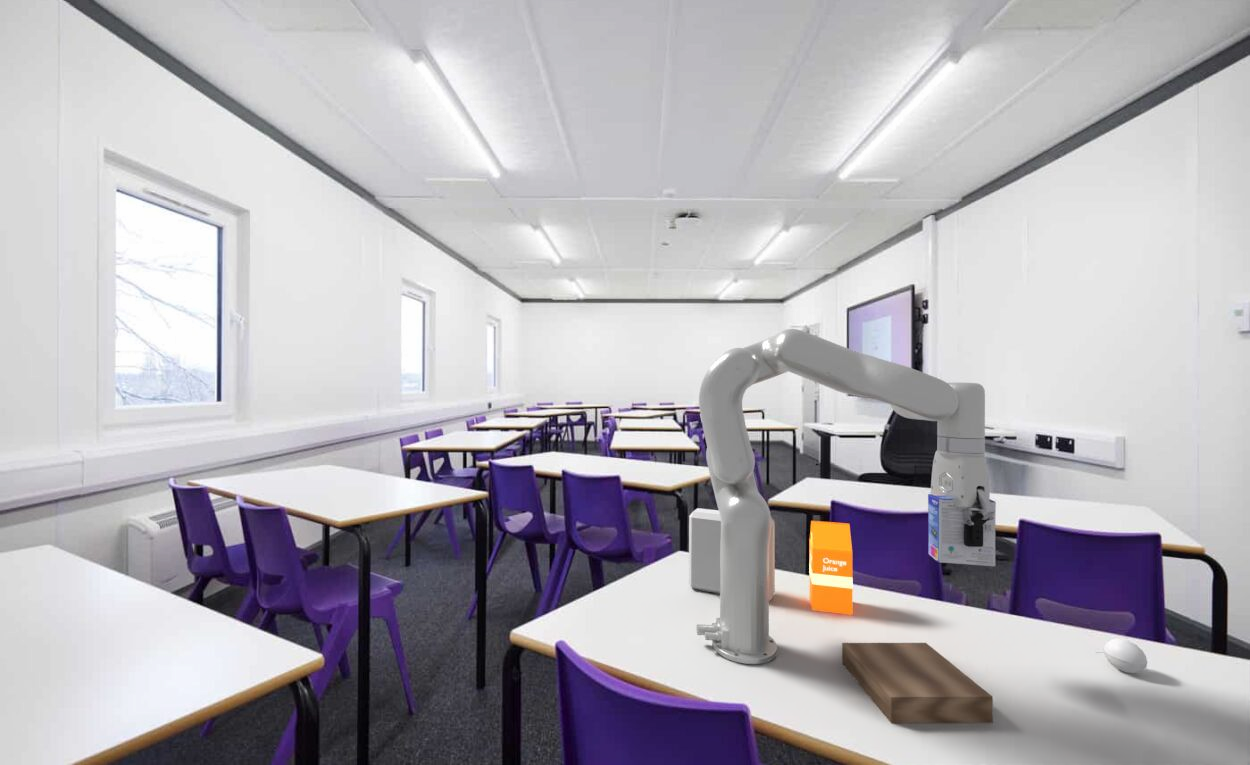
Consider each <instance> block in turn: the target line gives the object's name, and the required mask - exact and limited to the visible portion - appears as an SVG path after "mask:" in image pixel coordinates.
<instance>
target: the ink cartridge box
mask: <svg viewBox="0 0 1250 765" xmlns="http://www.w3.org/2000/svg"><path fill="white" fill-rule="evenodd" d="M989 500H990V502H991V504H992V505H993V507H994V508H995V513H994V514H993V515H992V516H991V517H990V518H989V520H988V521H986V525H985V526H983V546H982V547H968V546H965V545H964V524H967V521H966V517H965V513H964V510H963V509H959V508H956V507H955V506H954V501H953V499H951V498H948V497H945V496H942V495H938V494H931V493H928V494H927V507H928V508H927V510H928V512H927V513H928V514H927V515H928V517H927V518H928V555H929V556H930V557H931V558H933V560H935V561H936V562H937V563H941V564H942V563H943V564H955V565H957V564H958V565H970V566H971V565H972V566H984V567H996V509H997V508H996V507H997V506H996V504H997V503H996V500H992V499H989ZM976 505H977V504H976ZM976 505H973V506H972V507H976ZM971 512H972V516H974V515H975V514H976V512H974V511H971Z"/></svg>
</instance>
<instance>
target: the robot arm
mask: <svg viewBox="0 0 1250 765" xmlns="http://www.w3.org/2000/svg"><path fill="white" fill-rule="evenodd" d="M712 363H713V364H711V366H710V367H709V368H708V370H707V371H706V373H705V375H704V377H703V379H702V382H701V385H700V388H699V394H698V398H699V399H698V404H699V413H700V419H701V423H702V430H703V434H704V439H705V443H706V447H707V448H706V451H705V458H706V464H707V468H708V472H709V476H710V481H711V485H712V489H713V493H714V497H715V502H716V506H717V509H718V510H719V513H720V517H721V544H720V594H719V599H720V600H719V617H716V618H715V619H716V621H715V622H711V624H696V635H697V636H704V640H705V641H711V643H712V648H714V651H715V652H716V653H718V654H719V655H721V656H722V657H724V658H725V659H727V660H730V661H733V662H736V663H739V664H745V665H746V664H747V665H759V664H760V665H761V664H765V663H767V662H770V661H772V660H774V659H775V657H776V656H777V653H778V645H777V642H776V641H775V639H773V638H772V637H771V636H770V618H769V617H770V601H769V544H770V534H771V517H772V515H771V510H770V507H769V505H768V503H767V501H766V500H765V498H764V497H763V496H762V495H761V493H760V492H759V489H758V486H757V481H756V477H755V473H754V469H755V464H756V460H755V459H756V458H755V453H754V451H753V447H752V445H751V441H750V437H749V433H748V429H747V425H746V422H745V421H746V420H745V415H744V410H743V398H744V395H745V393H746V390H747V389H749V388H750V387H752V386H754V385H755V384H758V383H759V384H760V383H761V382H764V381H768V380H770V379H772V378H775V377H778V376H781V375H782V374H785V373H788V372H789V373H792V374H795V375H797V376H799V377H801V378H804V379H807V380H810V381H812V382H815V383H817V384H819V385H822V386H823V387H824V386H825V387H827V388H829V389H832V390H834V391H837V392H840V393H843V394H846V395H849V396H855V397H862V398H867V399H871V400H872V399H873V400H876V401H880V402H883V403H886V404H889V405H890V406H891V408H892V410H893V411H894V413H896V414H898V415H899V416H901V417H903V418H906V419H911V420H920V421H921V420H922V421H930V422H937V424H936V426H937V428H936V429H937V431H936V436H937V441H936V442H937V443H936V444H937V446H936V447H937V449H936V451H935V453H934V457H933V461H932V469H931V480H930V494H938V495H942V496H945V497H948V498H951V499H953V501H954V506H955V507H956V508H959V509H963V510H964V513H965V517H966V521H967V524H964V545H965V546H968V547H982V546H983V526H985V525H986V521H988V520H989V518H990V517H991V516H992V515H993V514H994V513H995V514H996V511H995V508H994V507H993V505H992V504H991V502H990V500H991V499H990V498H991V497H990V496H991V494H990V477H989V469H988V468H989V467H988V463H987V458H986V451H985V450H986V446H985V445H986V405H985V404H986V392H985V391H986V390H985V387H984V386H983V385H982V384H981V383H977V382H946V381H945V380H942V379H941V378H937V377H935V376H932V375H930V374H928V373H925V372H923V371H920V370H917V369H914V368H911V367H909V366H906V365H902V364H900V363H896V362H892V361H888V360H885V359H882V358H878V357H875V356H873V355H868V354H865V353H861V352H859V351H856V350H853V349H851V348H848V347H846V346H843V345H839V344H837V343H834V342H832V341H830V340H827V339H826V338H825V339H824V338H822V337H820V336H817V335H814V334H812V333H809V332H807V331H804V330H801V329H796V328H789V329H788V328H787V329H785V330H782V331H780V332H778V333H776V334H775V335H773V336H771V337H768V338H766V339H764V340H761V341H758V342H756V343H753V344H750V345H747V346H745V347H735V348H731V349H729V350H726V351H725V352H724V353H723V354H722V355H721V356H719V357H718V358H717V359H716V360H715V361H714V362H712ZM989 499H990V500H989ZM976 504H977V505H976ZM973 505H976V507H972V506H973ZM971 511H974V512H976V514H975V515H974V516H972V512H971Z"/></svg>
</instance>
